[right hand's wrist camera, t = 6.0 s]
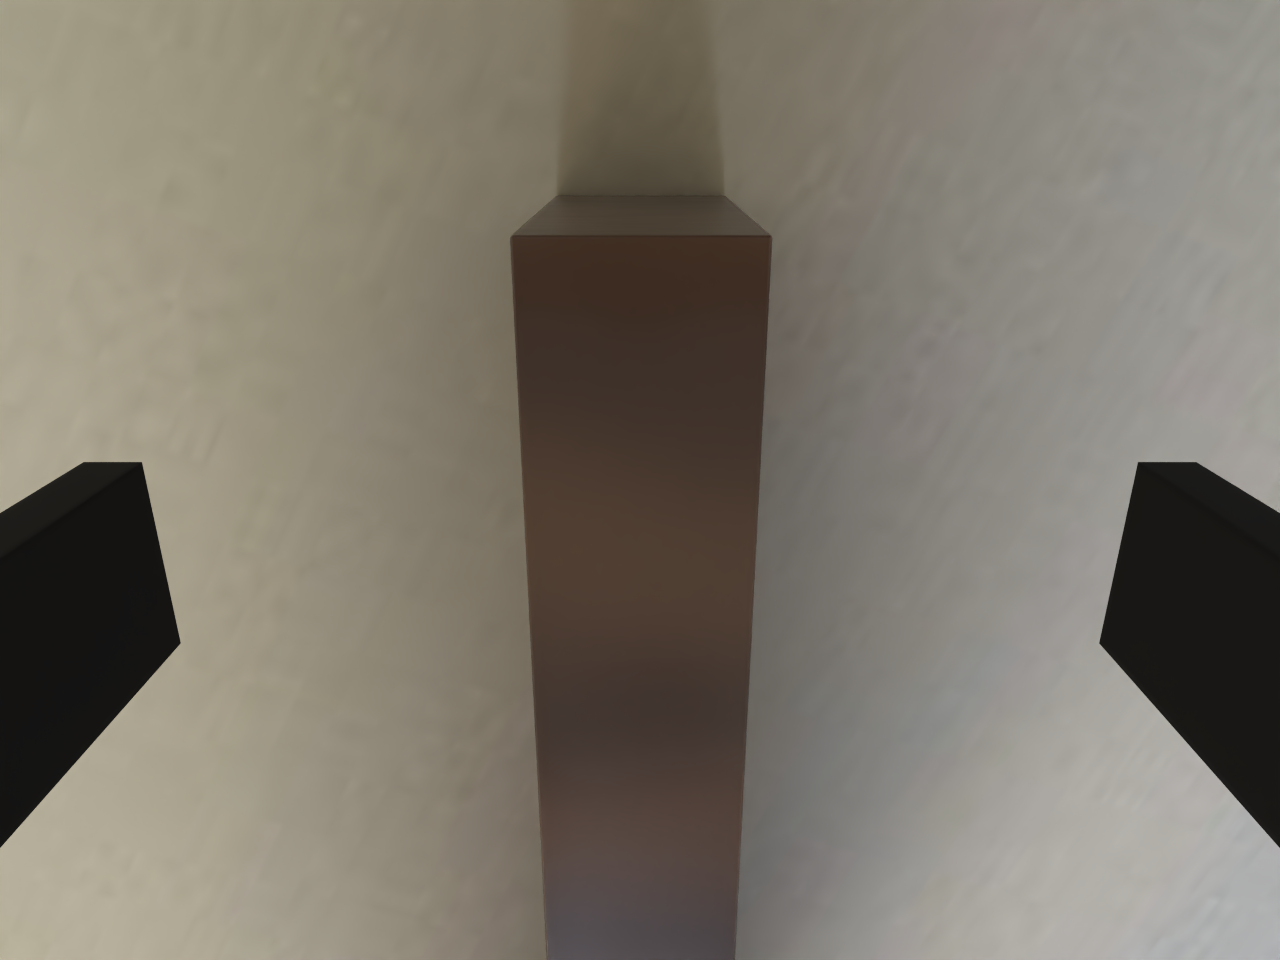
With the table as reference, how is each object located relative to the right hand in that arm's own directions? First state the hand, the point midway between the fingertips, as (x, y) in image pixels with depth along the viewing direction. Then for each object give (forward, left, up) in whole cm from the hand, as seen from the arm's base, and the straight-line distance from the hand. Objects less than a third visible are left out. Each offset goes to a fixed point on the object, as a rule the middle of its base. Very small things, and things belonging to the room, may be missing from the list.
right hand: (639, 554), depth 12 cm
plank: (+11, +8, -17) cm, 22 cm away
